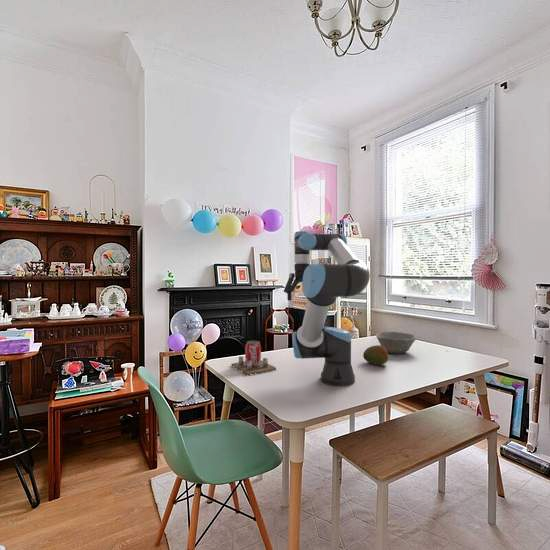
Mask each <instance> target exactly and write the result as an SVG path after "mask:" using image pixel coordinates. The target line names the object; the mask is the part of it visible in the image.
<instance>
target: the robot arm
mask: <svg viewBox="0 0 550 550" xmlns="http://www.w3.org/2000/svg"><path fill="white" fill-rule="evenodd" d="M293 239H294V241H293V242H294V272H289V275H288V276H289V277H288V279H287V282H286V284H285V287H284V289H283V293H285V294H286V295H287V296H286V298H287V301H288V308H294V293H293V292H294V291H295V289H296V287H297V286H298V285H299V284H300V283H301V287H302V294H303V296H304V297H306V299H307V303H306V307H305V312H304V315H303V320H302V325H301V326H300V327H299V328H298V329H297V331H293V332H292V334H291V337H292V338H291V339H292V348H293V349H292V350H293V355H294V358H296V359H302V360H305V359H322V358H324V364H323V367H322V371H321V374H320V380H321V382H323V383H325V384H327V385H331V386H340V387H341V386H350V385H353V384H354V383H355V382H356V376H355V373H354V368H353V365H352V335H351V332H350V331H349V330H347V329H344V328H340V327H339V328H338V327H330V326H329V327H326V326H325V324H326V323H325V322H326V319H327V316H328V313H329V309H330V306H332V305H333V304H334V303H335V302H336V301H337V298H338V297H339V298H344V297H345V298H346V297H348V298H350V297H354V296H356V295H359V294H361V293H362V292H363V291H364V290H366V288H367V286H368V284H369V282H370V278H371V274H370V270H369V267H368V266H367V265H366V263H365V262H364V261H363V260H361V259H358V257H357V256H356V255H355V254H354V253H353V252H352V250H351V249H350V248H349V247H348V240H347V239H348V238H347V236H346V235H345V234H343V233H310V231H307V230H299V231H295V232H294V238H293ZM311 251H329V253H330V254H331V256H332V258H333V259H334V261H335V262H336V263H332V264H331V263H328V264H327V263H326V264H325V263H323V264H322V263H317V264H316V263H313V264H310V262H311V253H310V252H311ZM324 326H325V328H324ZM323 329H324V330H323Z"/></svg>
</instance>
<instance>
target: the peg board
mask: <svg viewBox="0 0 550 550" xmlns="http://www.w3.org/2000/svg"><path fill="white" fill-rule="evenodd" d="M230 365H232V366H234V367H235V368H237V369H238V370H240V371H242V372H243V373H245V374H246V375H245V374H244V375H245V376H247V375H249V376H251V375H250V374H254V375H256V374H255V373H259V374H262V373H261V372H264V373H267V372H266V371H269V372H273V371H272V370H274V371H277V367H275V366H274V365H271V364H269V359H268V358H267V357H263V358H262V360H261V365H260V366H259V367H255V368H252V361H247V365H245V360H244V356H238V362H234V363H231V364H230ZM232 366H231V367H232ZM234 367H233V368H234ZM235 368H234V369H235ZM237 369H236V370H237ZM238 370H237V371H238ZM240 371H239V372H240ZM242 372H241V373H242ZM243 373H242V374H243Z"/></svg>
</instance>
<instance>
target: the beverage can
mask: <svg viewBox="0 0 550 550" xmlns="http://www.w3.org/2000/svg"><path fill="white" fill-rule="evenodd" d="M244 348H245V349H244V351H245V354H244V355H245V358H244V361H245V365H247V361H252V368H255V367H259V366H260V365H261V361H262V346H261V343H260V341H258V340H247V341H246V344H245V347H244Z"/></svg>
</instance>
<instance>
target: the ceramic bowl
mask: <svg viewBox="0 0 550 550" xmlns="http://www.w3.org/2000/svg"><path fill="white" fill-rule="evenodd" d="M375 337H376V338H377V341H378V343H379V345H380V346H383V347H385V348H386V350H387V353H388V354H395V355H396V354H405V353H407V352H408V351H409V350H410V349H411V347H412V345H413V344H414V342H415V341H416V340H417V339H418V338H417V336H416V335H414V334H411V333H406V332H399V331H382V332H381V331H380V332H378V333H375Z"/></svg>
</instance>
